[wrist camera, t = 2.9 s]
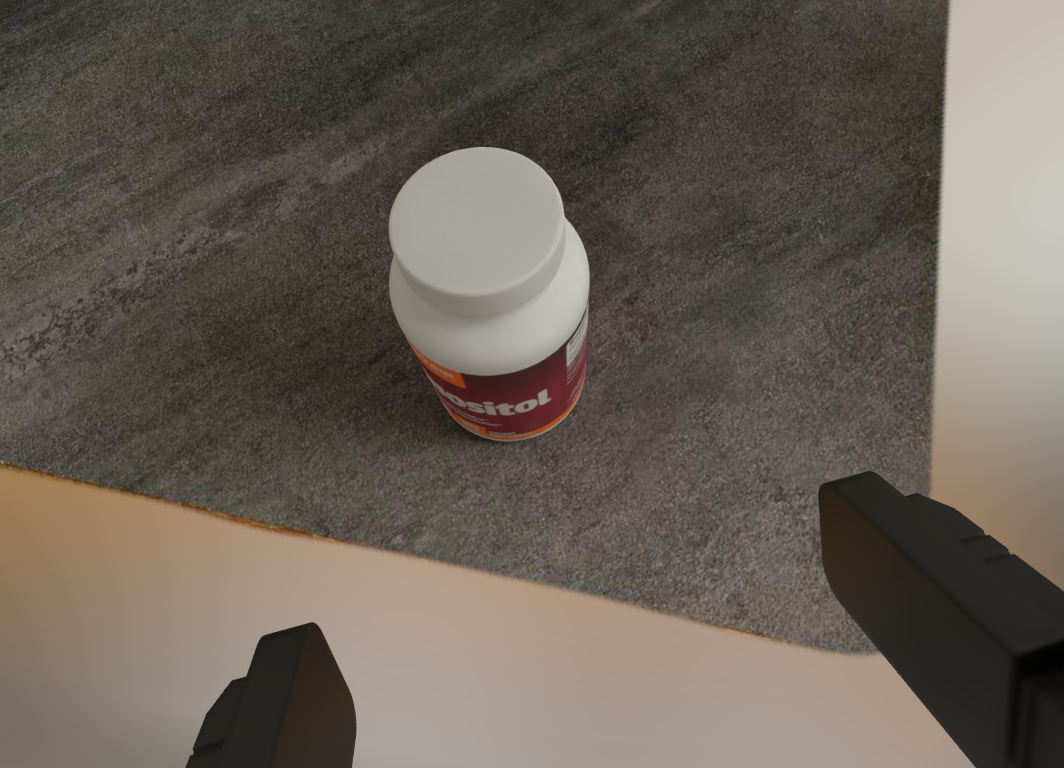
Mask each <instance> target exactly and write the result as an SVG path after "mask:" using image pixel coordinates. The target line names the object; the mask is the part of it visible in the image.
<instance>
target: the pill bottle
mask: <svg viewBox="0 0 1064 768" xmlns="http://www.w3.org/2000/svg"><path fill="white" fill-rule="evenodd" d="M389 239H390V244H391V247H392V251H393V253H394V257H393V260H392V264H391V270H390V278H389V290H390V299H391V303H392V307H393V311H394V313H395V316H396V318H397V321H398V323H399V326H400V328H401V330H402V331H403V333H404V335H405V337H406V339H407V340H408V342H409V344H410V346H411V347H412V349H413V351H414V352H415V354H416V356H417V358H418V360H419V362H420V364H421V365H422V367H423V369H424V371H425V372H426V375H427V377H428V378H429V380H430V382H431V383H432V385H433V387H434V389H435V391H436V393H437V395H438V396H439V398H440V400H441V402H442V404H443V405H444V406H445V408H446V410H447V411H448V412H449V414H450V415H451V416H452V417H453V418H454V420H456V421H457V422H458V423H459V424H460V425H461V426H463V427H464V428H465V429H467V430H468V431H470V432H472V433H474V434H476V435H478V436H481V437H483V438H487V439H491V440H496V441H507V442H510V441H519V440H525V439H530V438H533V437H536V436H538V435H541V434H543V433H545V432H547V431H549V430H550V429H552V428H553V427H555V426H556V425H558V424H559V423H560V422H561V421H562V420H563V419H564V418H565V417H566V416H567V415H568V414H569V413H570V411H571V410H572V409H573V407H574V406H575V404H576V402H577V400H578V398H579V396H580V394H581V390H582V387H583V384H584V379H585V373H586V353H587V334H588V308H589V265H588V259H587V255H586V252H585V249H584V246H583V244H582V241H581V239H580V238H579V236H578V234H577V232H576V231H575V229H574V228H573V226H572V225H571V224H570V223H569V221H568V220H567V219H566V218H565V217H564V210H563V203H562V200H561V196H560V194H559V191H558V189H557V187H556V186H555V184H554V182H553V181H552V179H551V178H550V177H549V175H548V174H547V173H546V172H545V171H544V170H543V169H542V168H541V167H540V166H538V165H537V164H536V163H534V162H533V161H532V160H530V159H528V158H526V157H524V156H522V155H520V154H518V153H515V152H512V151H508V150H505V149H499V148H492V147H475V148H468V149H462V150H458V151H454V152H450V153H448V154H445V155H443V156H441V157H439V158H436V159H434V160H433V161H431V162H429V163H428V164H426V165H425V166H423V167H422V168H421V169H419V170H418V171H417V172H416V173H415V174H414V175H413V176H412V177H410V179H409V180H408V181H407V182H406V183H405V184H404V186H403V187H402V189H401V190H400V192H399V193H398V195H397V197H396V199H395V202H394V204H393V206H392V210H391V213H390V218H389Z"/></svg>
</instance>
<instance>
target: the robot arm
mask: <svg viewBox="0 0 1064 768" xmlns="http://www.w3.org/2000/svg"><path fill="white" fill-rule="evenodd" d="M818 495H819V513H820V529H821V545H822V560H823V566H824V571H825V574H826V577H827V580H828V582H829V585H830V587H831V589H832V591H833V593H834V594H835V596H836V598H837V599H838V601H839V602H840V603H841V605H842V606H843V607H844V608H845V609H846V611H847V612H848V613H849V614H850V615H851V617H852V618H853V619H854V620H855V622H856V623H857V624H858V625H859V626H860V628H861V629H862V630H863V631H864V632H865V634H866V635H867V636H868V637H869V639H870V640H871V641H872V642H873V643H874V645H875V646H876V647H877V648H878V649H879V651H880V652H881V653H882V654H883V656H884V657H885V658H886V659H887V660H888V661H889V663H890V664H891V665H892V666H893V668H894V669H895V670H896V671H897V672H898V674H899V675H900V676H901V677H902V679H903V680H904V681H905V682H906V683H907V685H908V686H909V687H910V688H911V690H912V691H913V692H914V693H915V694H916V696H917V697H918V698H919V699H920V700H921V702H922V703H923V704H924V705H925V707H926V708H927V709H928V710H929V711H930V713H931V714H932V715H933V716H934V717H935V719H936V720H937V721H938V722H939V723H940V725H941V726H942V727H943V728H944V730H945V731H946V732H947V733H948V734H949V736H950V737H951V738H952V739H953V740H954V742H955V743H956V744H957V745H958V746H959V748H960V749H961V750H962V751H963V752H964V754H965V755H966V756H967V757H968V759H969V760H970V761H971V762H972V763H973V765H974V766H975V767H976V768H1064V591H1062V590H1061V589H1060V588H1059V587H1057V586H1056V585H1055V584H1053V583H1052V582H1051V581H1049V580H1048V579H1047V578H1045V577H1044V576H1043V575H1041V574H1040V573H1039V572H1037V571H1036V570H1035V569H1034V568H1032V567H1031V566H1029V565H1028V564H1027V563H1026V562H1024V561H1023V560H1022V559H1020V558H1019V557H1018V556H1016V555H1015V554H1013V555H1011V554H1010V553H1009V551H1008V549H1007V548H1006V547H1005V546H1003V545H1002V544H1001V543H999V542H998V541H997V540H995V539H994V538H993V537H991V536H990V535H987V536H986V535H985V534H984V531H983V530H982V529H981V528H980V527H978V526H977V525H976V524H974V523H973V522H972V521H970V520H969V519H968V518H967V517H965V516H964V515H962V514H961V513H960V512H959V511H957V510H956V509H955V508H952V507H950V506H947V505H945V504H942V503H940V502H937V501H935V500H932V499H930V498H928V497H925V496H923V495H920V494H918V493H916V494H912V495H909V496H904V495H903V494H901V493H900V492H899V491H898V490H897V489H895V488H894V487H893V486H892V485H890V484H889V483H888V482H887V481H885V480H884V479H883V478H882V477H881V476H879V475H878V474H876V473H874V472H872V471H867V472H863V473H860V474H856V475H852V476H849V477H845V478H841V479H838V480H834V481H831V482H827V483H823V484H822V485H821V486H820V488H819V494H818ZM355 739H356V715H355V708H354V703H353V699H352V696H351V693H350V690H349V688H348V686H347V684H346V682H345V680H344V678H343V676H342V673H341V671H340V669H339V667H338V665H337V663H336V661H335V658H334V656H333V654H332V652H331V650H330V648H329V646H328V643H327V641H326V639H325V637H324V635H323V633H322V631H321V629H320V628H319V626H318V625H317V624H315V623H313V622H311V623H307V624H303V625H300V626H296V627H293V628H289V629H286V630H281V631H278V632H274V633H271V634H267V635H264V636H263V637H261V639H260V640H259V642H258V644H257V647H256V650H255V653H254V656H253V659H252V662H251V665H250V668H249V670H248V673H247V676H246V677H243V678H240V679H236V680H232V681H231V682H230V684H229V685H228V686H227V688H226V689H225V690H224V691H223V693H222V694H221V695H220V697H219V698H218V699H217V701H216V702H215V703H214V705H213V706H212V707H211V709H210V710H209V711H208V713H207V714H206V716H205V719H204V721H203V724H202V727H201V729H200V732H199V734H198V737H197V739H196V742H195V744H194V747H193V751H194V754H193V755H191V756H190V757H189V760H188V763H187V765H186V768H352V762H353V755H354V747H355Z"/></svg>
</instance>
